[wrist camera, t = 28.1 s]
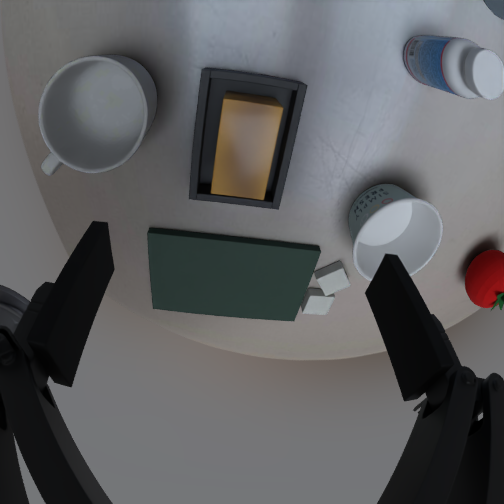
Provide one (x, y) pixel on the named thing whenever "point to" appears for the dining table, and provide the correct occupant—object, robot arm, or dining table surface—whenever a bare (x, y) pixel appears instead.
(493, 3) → the spray bottle
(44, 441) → the robot arm
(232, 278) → the chalkboard
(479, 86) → the pill bottle
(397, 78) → the dining table surface
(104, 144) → the teacup
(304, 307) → the grey square block
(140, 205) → the dining table surface
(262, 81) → the tray
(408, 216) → the food container
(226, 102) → the yellow rectangular block
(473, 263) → the tomato
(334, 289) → the white square block
